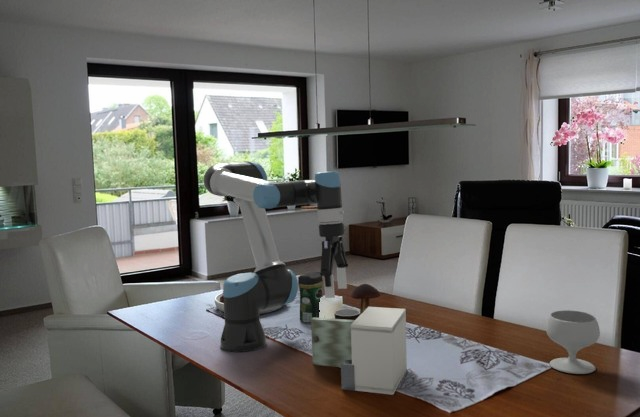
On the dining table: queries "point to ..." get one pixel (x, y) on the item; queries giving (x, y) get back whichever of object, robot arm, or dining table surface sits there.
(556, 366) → the chalice
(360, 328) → the cabinet
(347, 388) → the hinge clip
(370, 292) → the decorative mushroom
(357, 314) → the coffee mug
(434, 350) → the dining table surface
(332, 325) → the cabinet door
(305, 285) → the coffee jar
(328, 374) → the dining table surface
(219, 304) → the bowl
